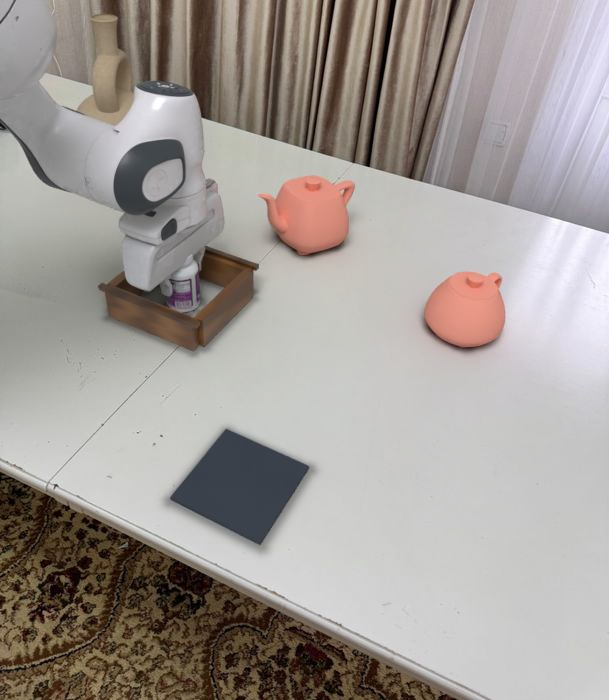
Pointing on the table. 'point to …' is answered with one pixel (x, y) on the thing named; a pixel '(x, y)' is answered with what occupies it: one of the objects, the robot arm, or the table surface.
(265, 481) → the coaster
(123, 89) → the vase
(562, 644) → the table surface
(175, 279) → the pill bottle
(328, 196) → the teapot
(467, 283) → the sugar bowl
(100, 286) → the wooden square frame
